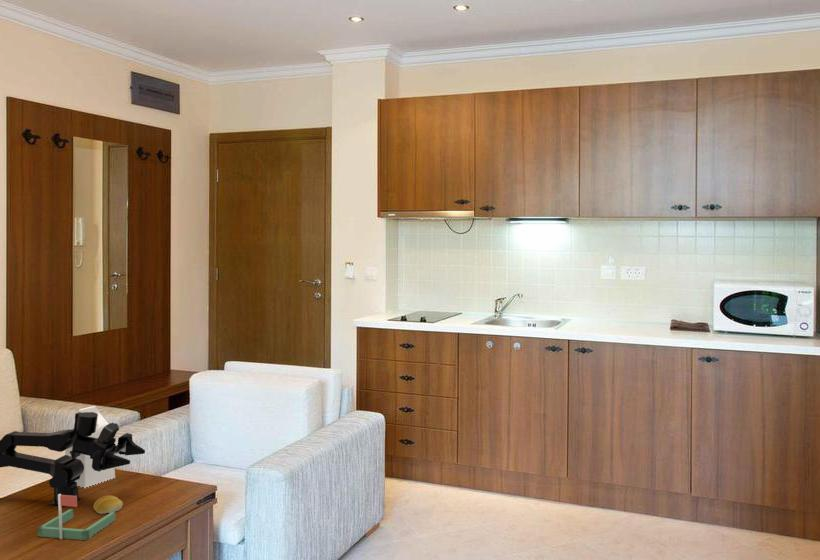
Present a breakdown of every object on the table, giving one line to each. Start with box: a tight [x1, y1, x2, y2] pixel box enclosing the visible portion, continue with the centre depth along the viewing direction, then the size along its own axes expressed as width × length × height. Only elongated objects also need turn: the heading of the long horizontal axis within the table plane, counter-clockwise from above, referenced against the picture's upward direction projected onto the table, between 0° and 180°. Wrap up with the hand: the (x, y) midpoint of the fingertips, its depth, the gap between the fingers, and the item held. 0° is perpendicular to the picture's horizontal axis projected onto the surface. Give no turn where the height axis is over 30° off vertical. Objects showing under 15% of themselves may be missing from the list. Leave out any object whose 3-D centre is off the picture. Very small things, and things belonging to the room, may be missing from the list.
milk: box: [64, 405, 116, 489], centre depth 251 cm, size 12×12×26 cm
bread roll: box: [93, 494, 124, 515], centre depth 225 cm, size 8×9×4 cm
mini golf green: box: [37, 494, 116, 541], centre depth 210 cm, size 15×15×13 cm
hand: (137, 457), depth 227 cm, fingers open, 9 cm apart
